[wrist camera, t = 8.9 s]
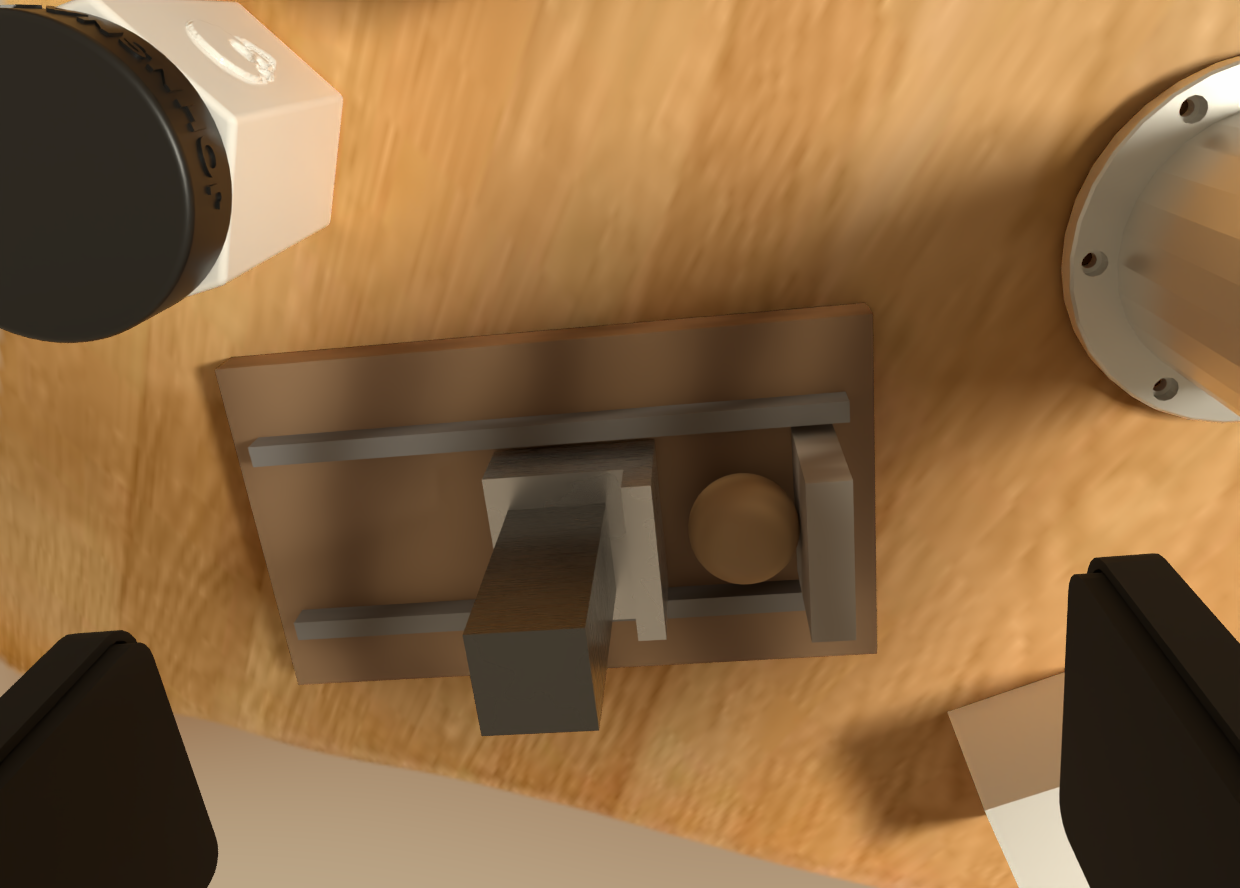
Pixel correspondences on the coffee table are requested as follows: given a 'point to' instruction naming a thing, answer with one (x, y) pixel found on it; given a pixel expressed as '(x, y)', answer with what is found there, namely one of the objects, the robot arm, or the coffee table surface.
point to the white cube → (1022, 779)
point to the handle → (563, 581)
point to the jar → (150, 158)
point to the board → (561, 417)
